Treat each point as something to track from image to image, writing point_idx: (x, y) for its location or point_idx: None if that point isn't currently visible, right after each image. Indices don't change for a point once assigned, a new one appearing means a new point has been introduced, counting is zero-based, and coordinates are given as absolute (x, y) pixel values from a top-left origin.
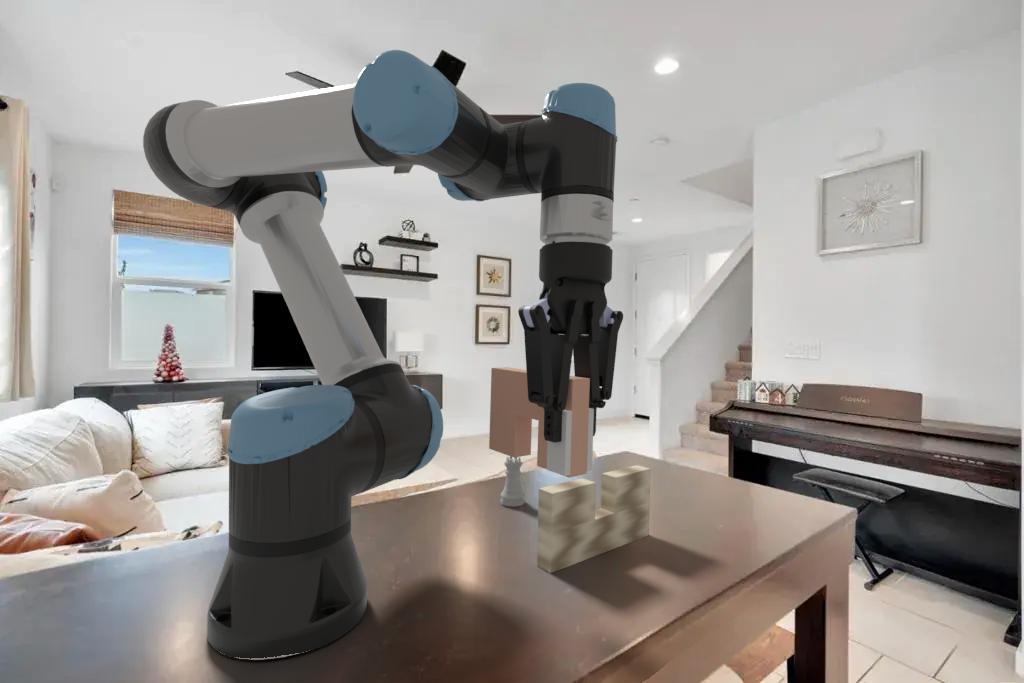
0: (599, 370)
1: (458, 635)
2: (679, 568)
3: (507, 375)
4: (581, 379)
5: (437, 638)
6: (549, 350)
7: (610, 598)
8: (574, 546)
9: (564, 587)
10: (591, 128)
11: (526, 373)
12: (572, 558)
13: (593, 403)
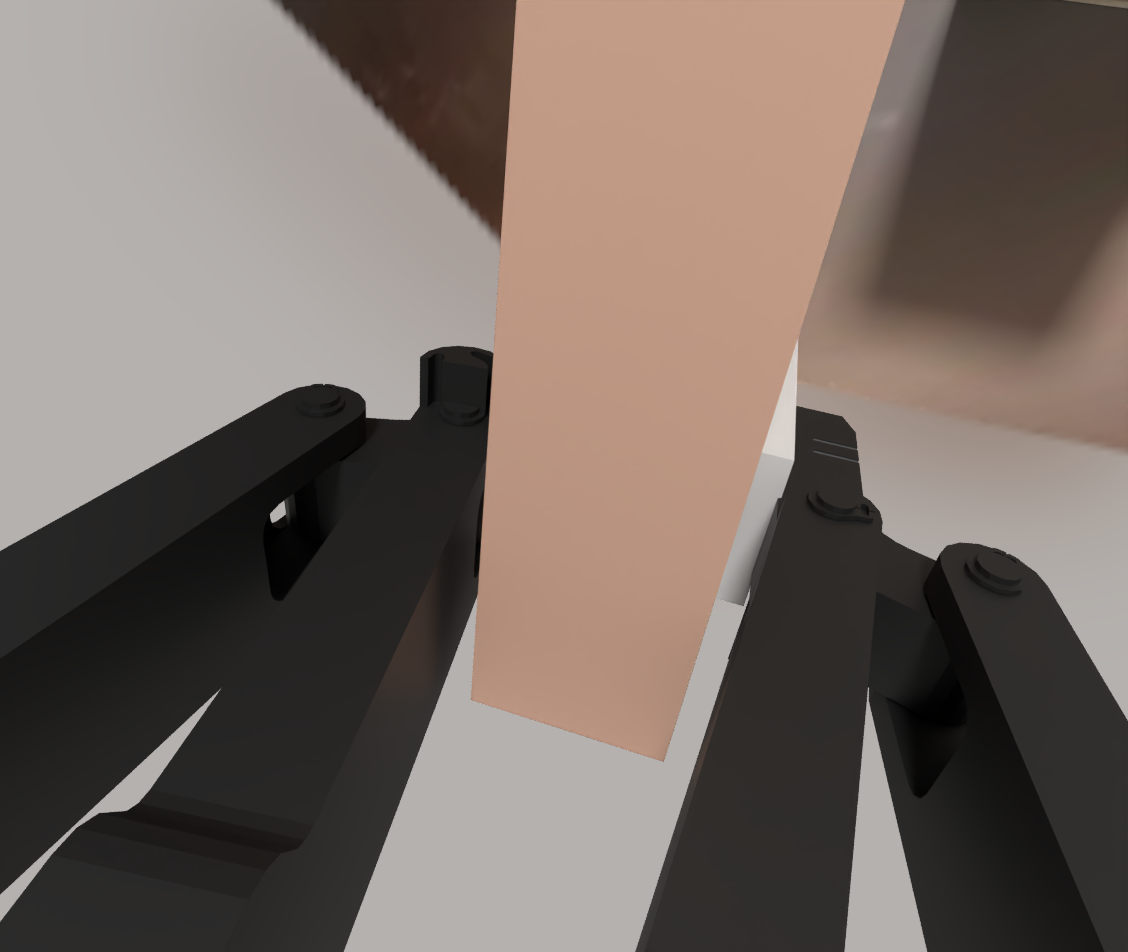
0: (951, 832)
1: (499, 52)
2: None
3: None
4: (566, 726)
5: (455, 21)
6: (63, 818)
7: (914, 249)
8: (1124, 1)
9: (893, 99)
10: None
11: (522, 22)
12: (1094, 2)
13: (739, 626)
